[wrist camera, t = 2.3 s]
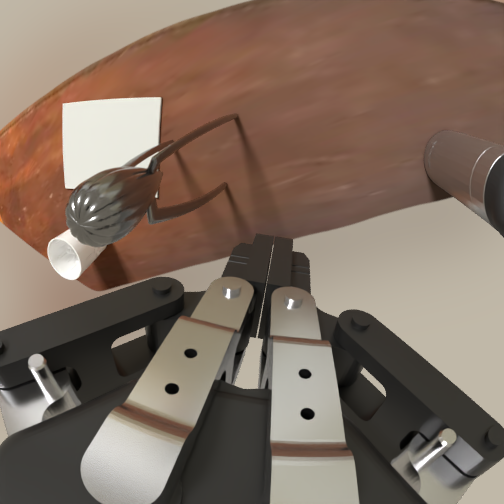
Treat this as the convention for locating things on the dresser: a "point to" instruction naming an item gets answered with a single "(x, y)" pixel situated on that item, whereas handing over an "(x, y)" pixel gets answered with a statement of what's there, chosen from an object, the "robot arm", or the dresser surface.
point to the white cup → (71, 255)
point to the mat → (107, 135)
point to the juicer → (129, 195)
